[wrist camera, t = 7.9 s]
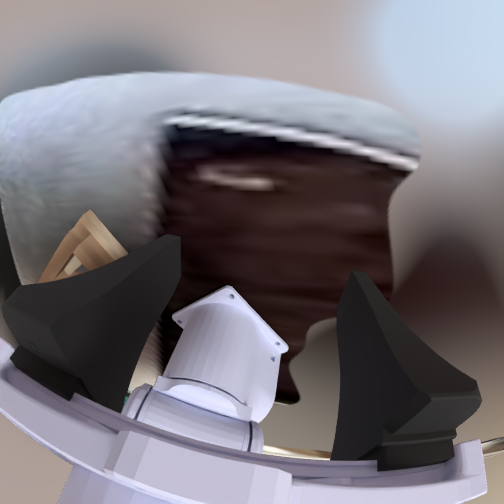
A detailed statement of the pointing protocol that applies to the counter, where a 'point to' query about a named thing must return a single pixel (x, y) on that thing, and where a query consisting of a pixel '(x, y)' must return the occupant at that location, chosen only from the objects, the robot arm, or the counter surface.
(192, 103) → the counter surface
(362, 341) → the robot arm
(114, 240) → the socket holder
